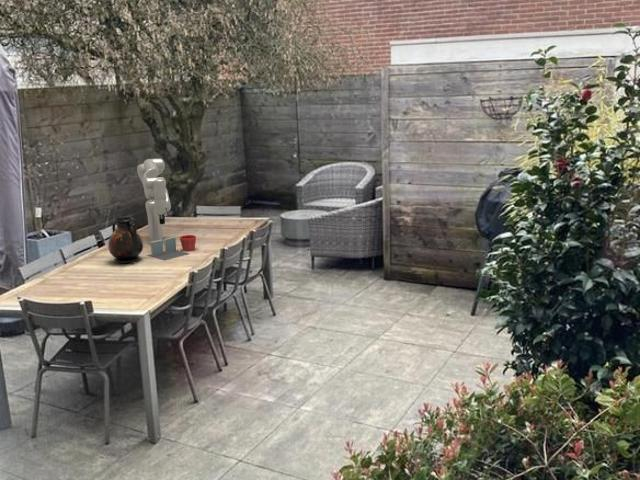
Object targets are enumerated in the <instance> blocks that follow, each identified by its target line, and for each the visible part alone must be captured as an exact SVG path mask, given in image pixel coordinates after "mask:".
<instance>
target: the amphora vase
mask: <svg viewBox="0 0 640 480" xmlns="http://www.w3.org/2000/svg"><path fill="white" fill-rule="evenodd" d="M134 221H135V218H134V217H132V216H131V217H130V216H122V217H116V218H114V219H112V222H113V223H112V225H111V227H112V228H111V229H112V233H111V235H110V236H109V239H108V243H107V248H108V251H109V254H110V255H111V256H112V257H113V262H114V263H115V264H118V263H119V264H120V265H128V264H129V263H130V264H134V262H135V263H136V262H139V261H140V260H141V257H140V255H141V253H142V251H143V249H144V242H143V238H142V236H141V235H140V233H139V232H138V230H137V226H136V224H135V223H132V222H134ZM119 264H118V265H119ZM130 264H129V265H130Z"/></svg>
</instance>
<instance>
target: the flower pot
mask: <svg viewBox="0 0 640 480" xmlns="http://www.w3.org/2000/svg"><path fill="white" fill-rule="evenodd" d="M179 240H180V245H181V247H182V251H183V252H191V251H194V250H195V247H196V240H197V236H196V235H193V234H186V235H181V236H179Z"/></svg>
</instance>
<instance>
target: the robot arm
mask: <svg viewBox="0 0 640 480" xmlns="http://www.w3.org/2000/svg"><path fill="white" fill-rule="evenodd" d="M165 165H166V164H165V161H164V159H162V158H148V159H145V160H144V161H143V163H141V164H138V165H137V168H136V171H137V175H138V178H139V180H140V181H141V183H142V186H143V190H144V191H143V192H144V196H145V198H146V199H147V200H146V202H145V210H146V214H147V215H146V216H147V224H148V236H147V237H146V239H148V240H147V244H149V245H151V242H153V241H158V240H163V244H164V239H165V238H164V234H163V225H165V224H166V217H168V214H169V211H170V210H171V208H172V204H171V199H170V197H169V192H168V189H167V187H166V186H167V181H166V179H165V178H164V177H160V176H159V175H161V174H162V173H163V172H164V170H165V167H166V166H165ZM158 176H159V177H158Z"/></svg>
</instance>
